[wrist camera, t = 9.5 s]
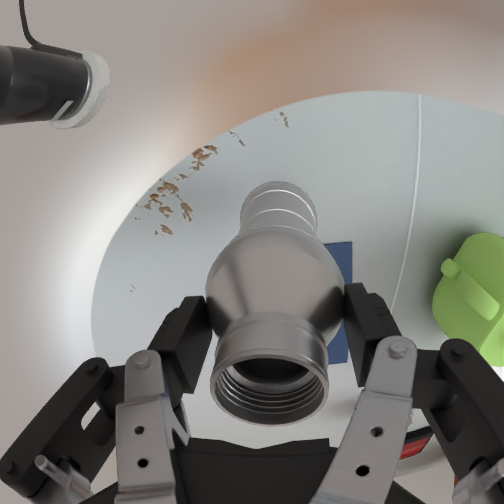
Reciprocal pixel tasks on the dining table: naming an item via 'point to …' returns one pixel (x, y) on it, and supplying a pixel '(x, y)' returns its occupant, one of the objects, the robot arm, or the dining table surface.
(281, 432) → the dining table surface
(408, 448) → the notebook
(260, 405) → the silver metal bottle
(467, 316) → the teapot
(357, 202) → the dining table surface
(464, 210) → the dining table surface
